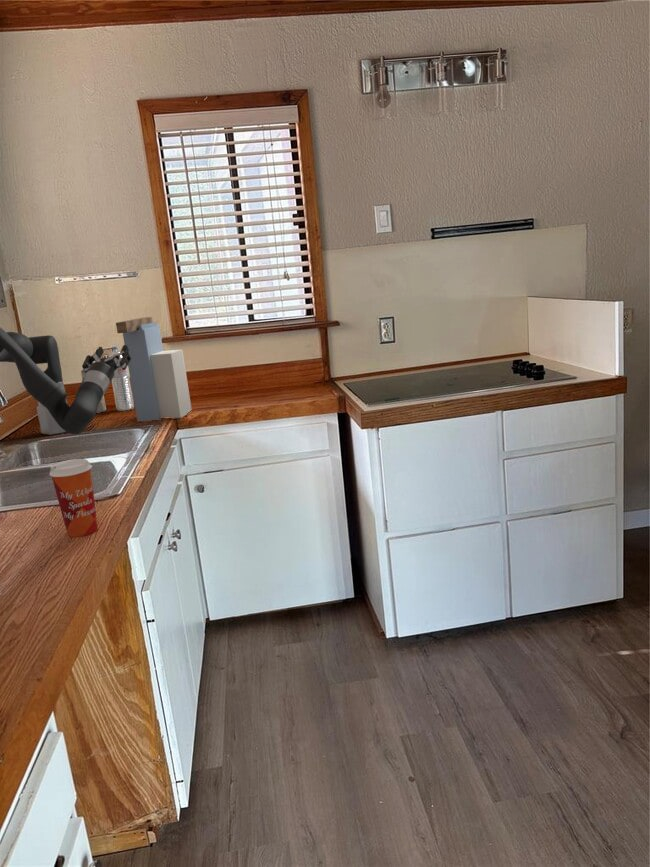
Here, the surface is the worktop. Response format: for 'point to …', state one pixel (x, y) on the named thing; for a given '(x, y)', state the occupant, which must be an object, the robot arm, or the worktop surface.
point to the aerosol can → (102, 403)
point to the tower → (144, 369)
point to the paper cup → (75, 496)
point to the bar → (132, 324)
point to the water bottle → (121, 386)
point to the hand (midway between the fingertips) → (113, 347)
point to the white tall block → (171, 383)
